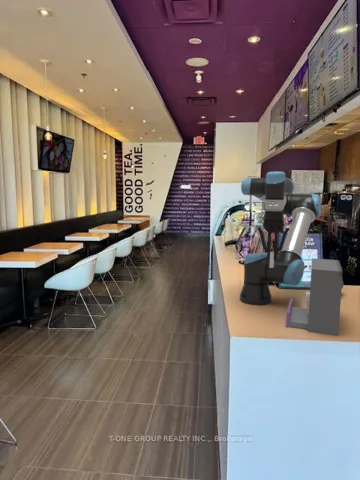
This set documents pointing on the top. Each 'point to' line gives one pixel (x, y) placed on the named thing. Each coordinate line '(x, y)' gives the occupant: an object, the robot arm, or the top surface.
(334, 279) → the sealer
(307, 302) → the smoothie
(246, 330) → the top surface
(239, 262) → the top surface
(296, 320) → the sealer tray
